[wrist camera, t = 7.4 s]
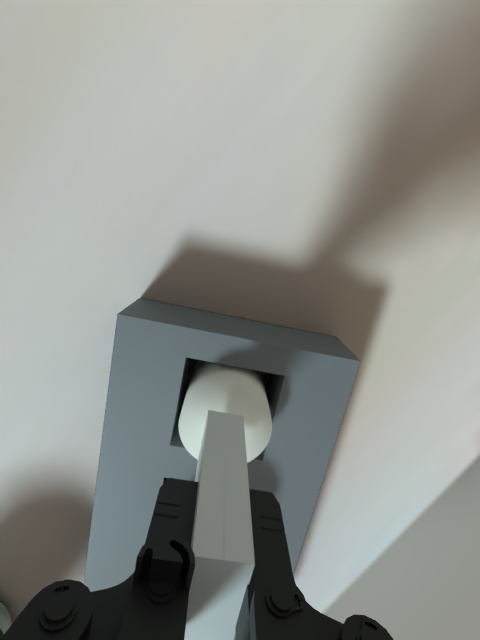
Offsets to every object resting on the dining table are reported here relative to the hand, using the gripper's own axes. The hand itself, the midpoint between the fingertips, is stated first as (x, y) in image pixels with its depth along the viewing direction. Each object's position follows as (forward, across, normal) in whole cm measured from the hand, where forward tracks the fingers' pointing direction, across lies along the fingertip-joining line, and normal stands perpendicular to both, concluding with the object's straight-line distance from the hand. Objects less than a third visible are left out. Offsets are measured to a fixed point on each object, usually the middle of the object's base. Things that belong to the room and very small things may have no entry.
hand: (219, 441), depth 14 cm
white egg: (+7, 0, 0) cm, 7 cm away
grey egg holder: (+7, 0, -7) cm, 10 cm away
